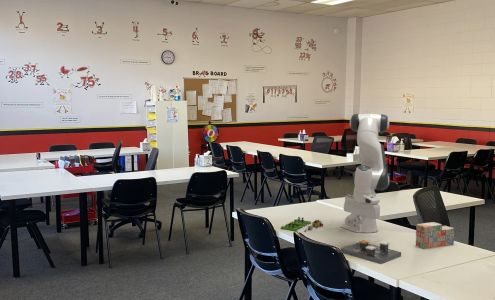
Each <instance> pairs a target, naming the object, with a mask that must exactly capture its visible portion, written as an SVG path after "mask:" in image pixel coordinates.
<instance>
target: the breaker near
mask: <svg viewBox="0 0 495 300" xmlns="http://www.w3.org/2000/svg"><path fill="white" fill-rule="evenodd" d="M375 249H376V247H373V246H368V247H366V254H369V255H374V254H375Z"/></svg>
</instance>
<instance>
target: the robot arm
mask: <svg viewBox="0 0 495 300" xmlns="http://www.w3.org/2000/svg"><path fill="white" fill-rule="evenodd" d="M349 126H350V130H351V131H353V132H356V133H357V134H356V142H357V143H356V144H357V146H358V149H359V150H358V157H359V159H360V164H361V165H357V166H356V168H355V171H354V172H353V173H352V185H353V186H354V188H353V194H349V193H348V194H346V195H345V197H344V203H343V211H344V212H346V213H350V214H349V215H347V216H346V217H345V218H344V219H345V220H344V223H342V224H341V225H340V228H342V229H345V230H348V231H351V232H354V233H371V234H372V233H376V232H378V226H377V219H379V218H380V215H381V207H380V204H379V203H380V200H381V199H380V198H378V197H377V194H376V192H375V190H376V191H382V192H383V191H384V190H386V189H387V188H388V187H389V186H390V177H389V174H388V168H387V159H386V154H385V148H384V145H383V144H382V143H380V139H379V133H380V135H382V134H383V133H386V132H387V131H388V129H389V127H390V119H389V116H388V115H386V114H380V113H354V114H352V115H351V118H350V119H349Z"/></svg>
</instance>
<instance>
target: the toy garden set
mask: <svg viewBox="0 0 495 300" xmlns="http://www.w3.org/2000/svg"><path fill="white" fill-rule="evenodd" d="M307 225H308V226H307ZM306 226H307V228H306ZM323 226H324V224H323V222H322V220H319V219H315V220H313V221H312V222H311V221H310V220H304V217H300V216H298V218H297V219H294V220H293V221H290V222H288V223H286V224H285V225H282V226H280V230H285V231H291V232H297V231H299V230H301V229H303V228H304V227H305V228H306V229H305V230H303V233H305V232H307V230H308V231H313V227H315V228H321V227H323Z"/></svg>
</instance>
